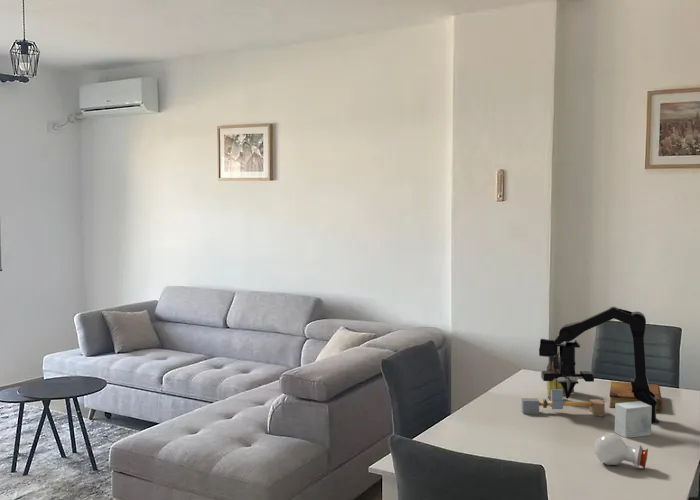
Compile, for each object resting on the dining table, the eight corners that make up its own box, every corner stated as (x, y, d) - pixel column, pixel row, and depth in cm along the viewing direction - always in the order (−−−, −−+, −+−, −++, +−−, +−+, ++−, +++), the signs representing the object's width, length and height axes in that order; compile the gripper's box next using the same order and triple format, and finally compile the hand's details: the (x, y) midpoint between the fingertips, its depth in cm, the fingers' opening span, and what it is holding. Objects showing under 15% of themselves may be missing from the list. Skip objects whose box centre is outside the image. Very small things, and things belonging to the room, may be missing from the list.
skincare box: (626, 438, 230) (626, 408, 230) (614, 432, 237) (614, 403, 236) (652, 435, 233) (652, 405, 233) (639, 429, 239) (639, 400, 239)
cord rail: (600, 411, 262) (600, 397, 262) (604, 415, 256) (604, 402, 256) (521, 410, 265) (521, 397, 265) (523, 414, 259) (523, 401, 259)
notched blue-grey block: (561, 406, 262) (561, 389, 262) (563, 409, 259) (563, 391, 258) (550, 406, 263) (550, 388, 262) (552, 409, 259) (552, 391, 259)
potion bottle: (592, 464, 211) (643, 478, 204) (589, 454, 204) (642, 468, 197) (598, 435, 215) (649, 448, 208) (595, 425, 208) (648, 438, 200)
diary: (661, 414, 259) (661, 399, 259) (609, 409, 266) (609, 395, 266) (659, 397, 280) (659, 384, 280) (611, 394, 288) (611, 380, 287)
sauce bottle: (561, 397, 282) (561, 350, 281) (564, 401, 276) (564, 353, 275) (545, 397, 283) (545, 350, 282) (548, 401, 277) (548, 353, 276)
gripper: (587, 353, 266) (587, 393, 267) (538, 353, 268) (538, 392, 269) (594, 360, 255) (594, 400, 256) (543, 359, 257) (543, 400, 258)
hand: (567, 398), depth 260 cm, fingers closed
